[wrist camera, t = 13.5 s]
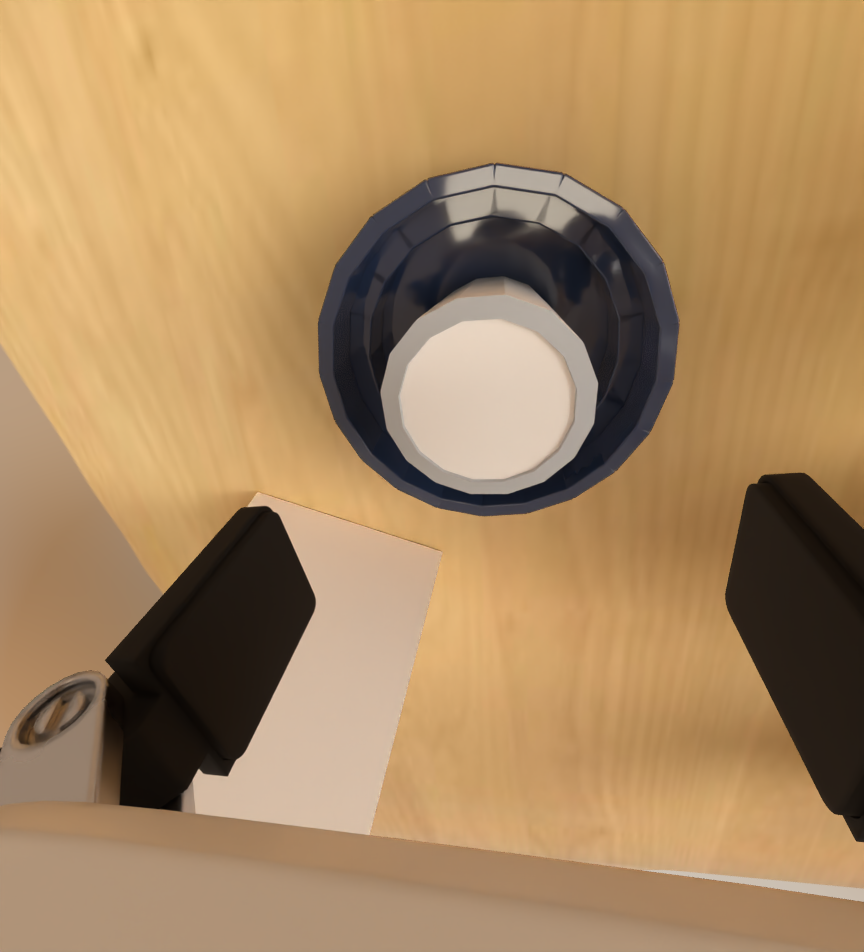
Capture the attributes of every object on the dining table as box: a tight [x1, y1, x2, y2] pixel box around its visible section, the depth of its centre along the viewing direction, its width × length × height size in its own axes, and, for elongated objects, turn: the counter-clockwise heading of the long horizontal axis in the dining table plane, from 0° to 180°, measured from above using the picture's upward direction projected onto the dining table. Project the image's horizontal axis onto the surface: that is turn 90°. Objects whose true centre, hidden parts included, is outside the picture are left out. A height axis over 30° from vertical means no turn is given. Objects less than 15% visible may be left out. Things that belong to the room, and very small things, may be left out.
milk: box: [193, 492, 442, 835], centre depth 20 cm, size 12×12×26 cm
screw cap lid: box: [318, 163, 679, 516], centre depth 18 cm, size 13×13×5 cm
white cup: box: [380, 276, 598, 494], centre depth 17 cm, size 7×7×7 cm
